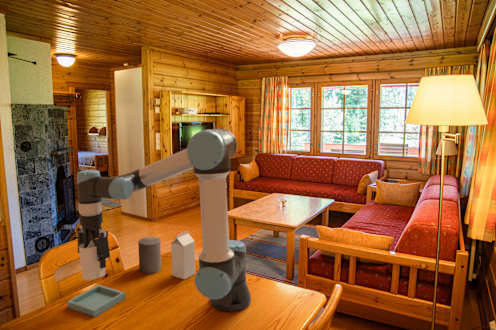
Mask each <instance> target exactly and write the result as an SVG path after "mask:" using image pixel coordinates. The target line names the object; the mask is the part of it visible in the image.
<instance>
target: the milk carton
mask: <svg viewBox="0 0 496 330" xmlns="http://www.w3.org/2000/svg"><path fill="white" fill-rule="evenodd" d="M170 245H171V246H170V250H171V251H170V253H171V274H172V275H171V276H173V277H176V278H178V279H182V280H186V279H188V278H190V277H191V276H194V275H196V256H195V255H196V253H195V252H196V251H195V250H196V249H195V247H196V246H195V240H194V238H193V237H192V236H191V234H190V232H189V230H187V231H183V232H181V233H179V234H177V235H176V237H175V239H174V240H173V241H172V242H171V243H170Z"/></svg>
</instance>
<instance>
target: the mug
mask: <svg viewBox="0 0 496 330" xmlns="http://www.w3.org/2000/svg"><path fill="white" fill-rule="evenodd" d="M78 254H79V259H80V261H79V262H80V271H81V278H82V280H84V281H92V280H97V279H98V278H99V277H98V269H97V260H98V255H97V246H95V245H94V243H93V242H92V241H91V242H90V243H89V245H88V246H87V247H86V248H84V243H83V244H81V245H79V253H78Z"/></svg>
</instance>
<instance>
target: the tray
mask: <svg viewBox="0 0 496 330" xmlns="http://www.w3.org/2000/svg"><path fill="white" fill-rule="evenodd" d="M125 299H126V293H125V292H124V291H121V290H118V289H115V288H112V287H111V288H110V287H107V286H104V285H101V284H98V285H96V286H94V287H92V288H90V289H88V290H86V291H85V292H83V293H81V294H79V295H77V296H74V297H73V298H71V299H69V300H67V301H66V304H67V309H70V310H73V311H76V312H79V313H81V314H84V315H86V316H90V317H92V318H96V317H98V316H99V315H100V314H103V313H104V312H106V311H107V310H109V309H111V308H112V307H114V306H115V305H117V304H119V303H120V302H122V301H124V300H125Z"/></svg>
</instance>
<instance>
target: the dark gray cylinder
mask: <svg viewBox="0 0 496 330" xmlns="http://www.w3.org/2000/svg"><path fill="white" fill-rule="evenodd" d="M137 242H138V243H137V244H138V262H139V263H138V264H139V270H138V271H139V272H140V273H141V274H146V275H150V274H155V273H158V272H159V271H160V270H161V269H162V254H161V253H162V252H161V250H162V249H161V248H162V247H161V238H159V237H158V236H145V237H143V238H140V239H139V240H138V241H137Z"/></svg>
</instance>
